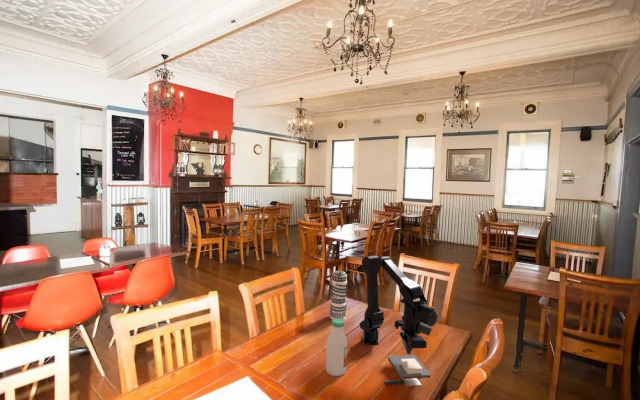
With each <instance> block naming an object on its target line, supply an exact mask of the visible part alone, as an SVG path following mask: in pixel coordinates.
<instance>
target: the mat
mask: <svg viewBox="0 0 640 400" xmlns="http://www.w3.org/2000/svg"><path fill="white" fill-rule="evenodd" d="M387 358H388V359H389V361H390V363H391V365H392V367H393V368H394V370H395V371H396V373H397V374H398V376H399V377H400V378H399V379H407V378H426V377H428V376H429V377H431V373H430V372H429V371H428V370H427V368H426V367H425V365H424V364H422V362H421V361H420V359H419V358H418V357H417V355H416V354H413V355H412V354H407V355H388V357H387ZM412 358H415V359H416V361H417V362H418V363H419V365H420V366H421V367H422V373H420V374H407V373H406V371H405V370H404V368H403V367H402V365H401V364H400V362H401V359H412Z"/></svg>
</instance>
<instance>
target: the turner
mask: <svg viewBox="0 0 640 400" xmlns="http://www.w3.org/2000/svg"><path fill="white" fill-rule="evenodd" d="M384 384H385V385H386V386H388V385H404V386H405V387H417V386H418V387H420V386H422V384H421V382H420V381H419V379H418V377H408V378H399V379H398V378H397V379H396V378H395V379H385V380H384Z"/></svg>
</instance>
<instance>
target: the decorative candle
mask: <svg viewBox="0 0 640 400" xmlns="http://www.w3.org/2000/svg"><path fill="white" fill-rule="evenodd" d="M331 274H332V279H331V283H330V296H331V301H330V307H329V308H330V309H329V318H330V319H331V320H333V319H341V320H343V321H344V320H346V316H347V313H346V312H347V311H346V310H347V303H346V301H347V300H346V299H347V296H348V294H347V293H348V286H349V285H348V281H347V278H348V277H347V276H348V274H347V273H346V271H344V270H335V271H333V273H331Z"/></svg>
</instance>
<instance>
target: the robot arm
mask: <svg viewBox="0 0 640 400" xmlns="http://www.w3.org/2000/svg"><path fill="white" fill-rule="evenodd" d="M361 266H362V270H363V272H364V274H365V276H366V277H365V278H366V298H367V299H366V300H367V301H366V302H367V308H366V310H365V311H364V317H363V319H362V320H361V321H360V322H359V328H360V329H361V330H362V332H361V333H362V335H361V337H360V338H361V341H362V342H363V344H364V345H379V342H378V341H379V333H380V332H379V331H378V329H381V327H382V325H383V324H384V321H385V318H384V313H385V312H384V311H382V310H381V308H380V307H379V306H380V305H379V289H378V287H379V282H378V275H379V273H380V271H381V268H382V269H383V270H384V271H385V272H386V274H387V275H388V276H389V277H390V278H391V279H392V281H394V283H395V284H396V285H397V286H398V291H399V293H400V295H401V296H402V298H401V299H400V300H399V302H400V303H402V304H403V315H402V316H401V317H400V318H401V319H396V320H395V321H394V325H393V326H394V328H395V329H396V330H399V328H400V332H399V336H400V338H401V342H402V343H403V347H404V349H405V352H406V354H407V355H411V353H412V350H414V349H427V347H428V342H427V340H426V339H425V338H423V336H421V334H424V335H426V336H428V337H429V336H430V335H431V332H432V330H433V328H432V327H434V325H436V323H437V321H438V314H437V312H436V310H435V308H434V307H433V306H429V305H428V301H427V299H426V296H425V294H424V292H423V288H422V287H421V286H420V285H419V284H418V283H417V282H415V281H414V280H412V279H409V278H408V277H407V276H406V275H405V273H403V272H402V270H400V268H399V267H398V266H397V265H396V264H395V263H394V262H393V260H392V259H391V257H390V256H387V255H386V256H380V257H379V255H376V254H375V255H368V256H363V258H362V259H361Z"/></svg>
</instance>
